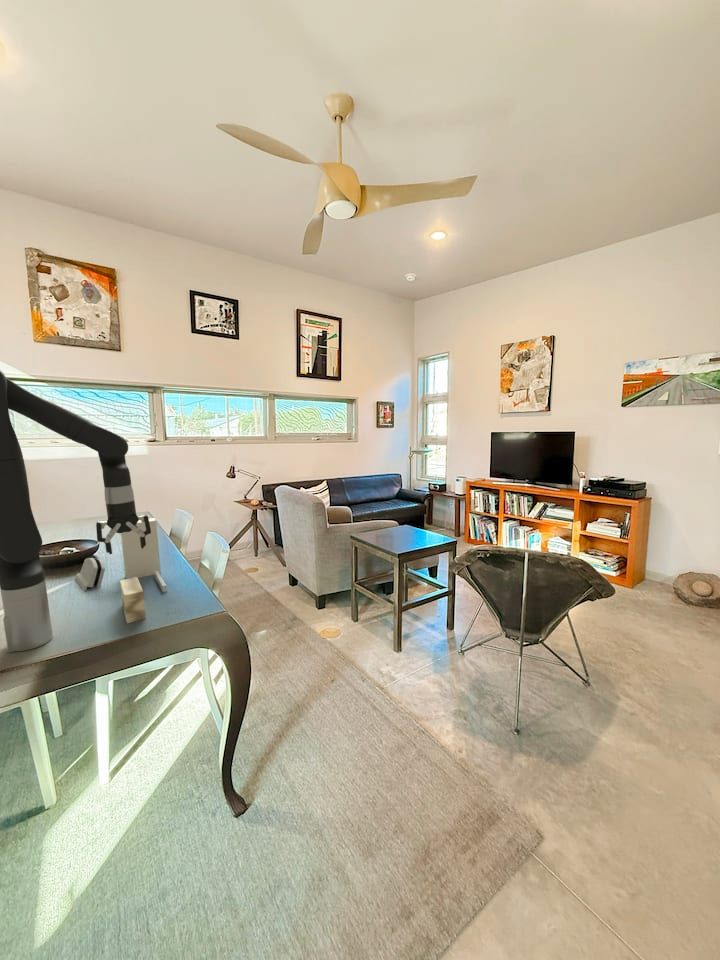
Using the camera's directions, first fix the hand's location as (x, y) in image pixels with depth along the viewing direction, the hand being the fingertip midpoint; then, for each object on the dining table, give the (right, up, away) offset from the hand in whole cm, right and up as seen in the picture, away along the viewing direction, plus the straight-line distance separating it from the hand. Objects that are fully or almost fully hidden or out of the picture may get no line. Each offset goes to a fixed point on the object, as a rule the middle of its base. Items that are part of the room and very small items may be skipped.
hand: (127, 550), depth 121 cm
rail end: (0, -21, +3) cm, 21 cm away
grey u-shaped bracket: (-8, -17, +26) cm, 32 cm away
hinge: (-31, -18, +28) cm, 45 cm away
